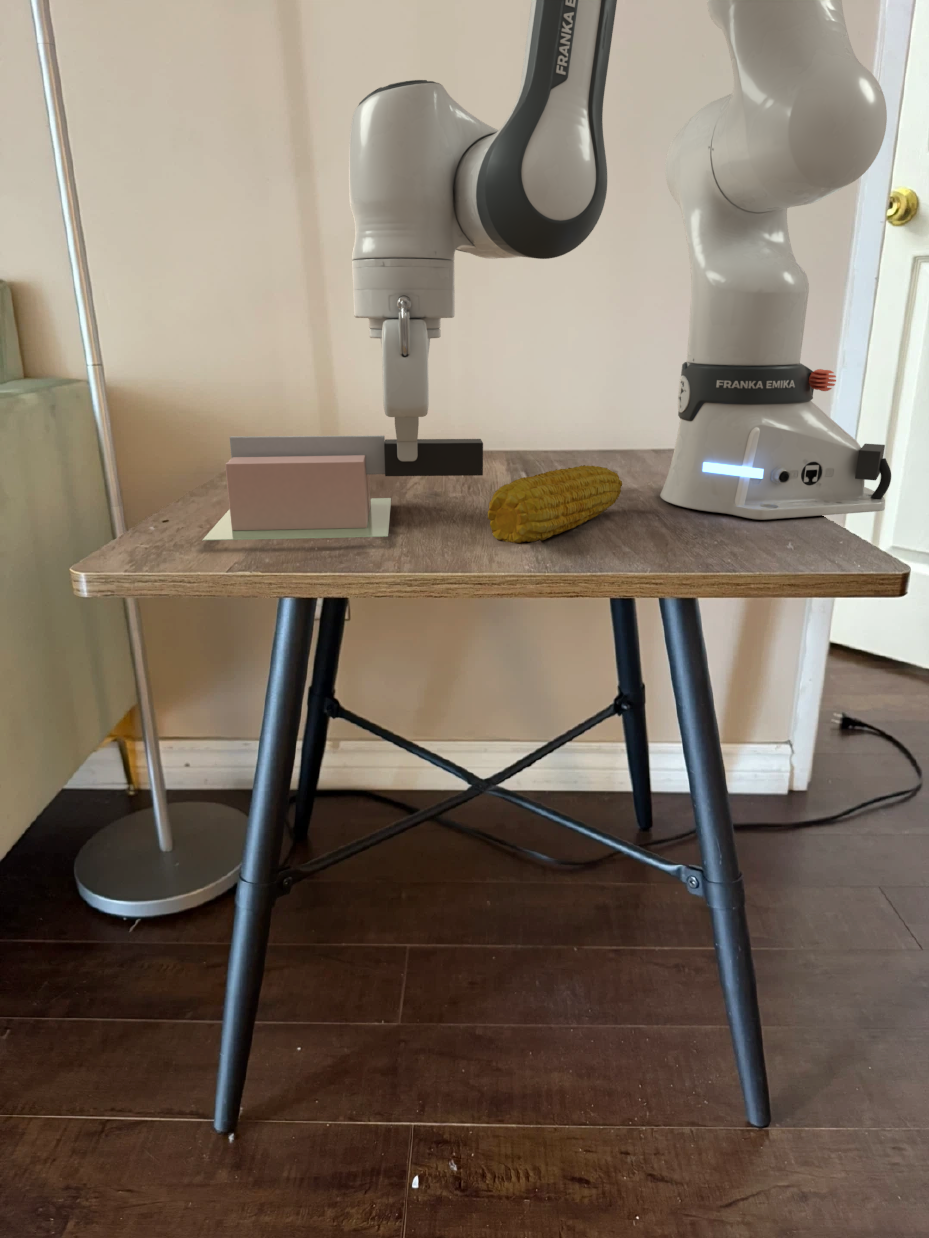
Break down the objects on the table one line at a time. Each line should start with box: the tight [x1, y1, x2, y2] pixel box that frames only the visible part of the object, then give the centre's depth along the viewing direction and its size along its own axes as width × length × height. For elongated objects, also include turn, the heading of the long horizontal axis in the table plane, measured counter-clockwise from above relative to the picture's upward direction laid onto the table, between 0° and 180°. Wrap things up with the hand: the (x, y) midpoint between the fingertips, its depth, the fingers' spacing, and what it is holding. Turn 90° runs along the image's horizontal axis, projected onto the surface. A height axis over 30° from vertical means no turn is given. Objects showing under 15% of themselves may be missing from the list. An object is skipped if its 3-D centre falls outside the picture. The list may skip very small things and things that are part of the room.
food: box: [487, 464, 623, 544], centre depth 80 cm, size 21×6×6 cm, turn 148°
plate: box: [202, 497, 392, 541], centre depth 82 cm, size 16×16×1 cm
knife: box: [229, 435, 484, 477], centre depth 79 cm, size 23×3×4 cm, turn 93°
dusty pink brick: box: [224, 455, 368, 531], centre depth 78 cm, size 12×4×6 cm, turn 94°
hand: (407, 456), depth 80 cm, fingers closed on knife, 2 cm apart
